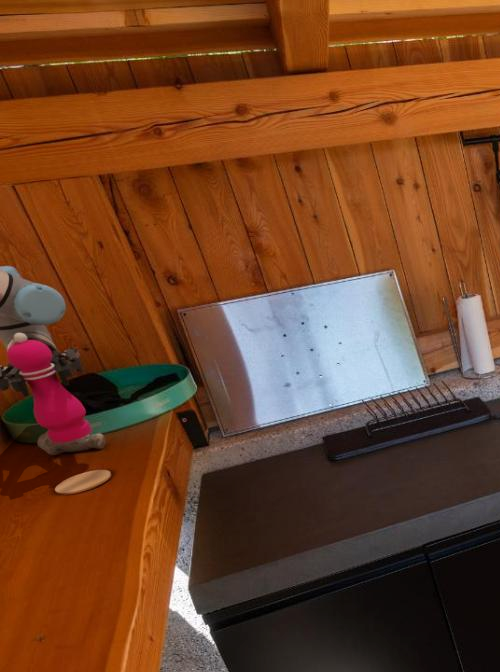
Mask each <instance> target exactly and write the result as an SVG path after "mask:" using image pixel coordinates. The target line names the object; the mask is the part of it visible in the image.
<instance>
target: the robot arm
mask: <svg viewBox="0 0 500 672" xmlns="http://www.w3.org/2000/svg"><path fill="white" fill-rule="evenodd" d="M66 308H67V306H66V301H65V299H64V297H63V295H62V294H61V293H60V292H58V290H56V289H55V288H53V287H51V286H49V285H46V284H43V283H39V282H34V281H31V280H28V279H26V278H23V277H22V276H21V274H20V273H19V271H18V270H17V269H16V268H15V267H14V266H11V265H4V266H0V341H1V342H2V344H3V346H4V348H5V350H6V352H7V351H8V349H9V347H11V346H12V345H13V344H15V343H17V342H16V341H15V340H14V335H15V334H16V333H23V334H25V335H26V336H27V340H36V341H40V342H42V343H44V344H45V345H47V346H48V348H49V349H50V350H51V353H52V359H51V362H50V363H52V364H54V367H55V369H56V370H57V372H56V373H57V375H58V377H59V379H60V380H61V382H62V385H63V387H67V386H70V385H71V383H70V382H69V379H68V378H69V377H73V376H74V371H76V373H79V372H80V373H81V372H83V371H85V368H84V366H83V364H82V362H81V361H82V360H83V359H82V356H81V355H80V353H79V351H78V348H77V347H76V346H75V347H74V346H73V347H72V346H71V347H70V348H68V349H66V350H64V351H63V352H64V353H62V352H61V351H60V350H58V349H57V347H56V345H55V344H56V343H55V341H54V338H53V336H52V335H51V333H50V332H49V330H48V328H47V326H48V325H52V324H54V323H57V322H59V321H60V320H61V319H62V318H63V317H64V315H65V314H66V313H65V312H66ZM20 371H21V370H20V369H18V368H16V367H14V366H12V365H11V364H10V362H9V361H8V362H7V363H6V366H3V365H2V364H1V365H0V391H1V392H4V391H7V390H9V388H10V387H11V390H13V391H14V392H15V393H20V392H21V394H22V395H23V397H28V396H30V392H29V387H28V385H27V384H26V382H27V380H23V379H22V376H21V375H20V374H19V372H20Z"/></svg>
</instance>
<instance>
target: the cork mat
mask: <svg viewBox="0 0 500 672" xmlns="http://www.w3.org/2000/svg"><path fill="white" fill-rule="evenodd" d="M111 477H112V472H111V471H110V470H107V469H95V470H90V471H89V470H88V471H84V472H83V473H82V472H81V473H79V474H76V475H73V476H71V477H68V478H66V479H65V480H62V481H61V482H60V483H59V484H57V485H56V486H55V488H54V491H55V493H56V494H58V495H62V496H64V495H65V496H66V495H75V494H79V493H83V492H86V491H88V490H92V489H94V488H97V487H98V486H100V485H103V484H104V483H106V482H107V481H109V480H110V478H111Z"/></svg>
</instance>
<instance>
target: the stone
mask: <svg viewBox="0 0 500 672" xmlns="http://www.w3.org/2000/svg"><path fill="white" fill-rule="evenodd" d="M47 432H48V430H47V431H46V432H44V433H43V434H41V435H39V437H38V439H37V446H38V447H39V448H40V449H41V450H43V451H45V452H46V453H47V454H48V455H50V456H59V455H62V454H65V453H75V452H77V453H78V452H84V451H88V450H90V449H97V450H102V449H104V448H105V446H106V437H105V436H104V434H102V433H95V434H90V433H89V434H88V435H86V436H84V437H82V438H80V439H77V440H74V441H70V442H65V443H54V442H52V441H51V439H50V438H49V436H48V434H47Z"/></svg>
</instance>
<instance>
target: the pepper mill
mask: <svg viewBox="0 0 500 672" xmlns="http://www.w3.org/2000/svg"><path fill="white" fill-rule="evenodd" d="M14 340H15V341H16V342H17V343H15V344H13V345H12V346H11V347H9V349H8V351H7V350H6V358H7V361H8V362H10V364H11V365H12V366H14V367H16V368H18V369H20V370H21V371H20V372H19V374H20V375H21V376H22V379H23V380H26V382H27V384H28V385H29V387H30V389H31V392H32V396H33V415H34V418H35V420H36V423H37V424H38V425H39V426H40V427H42V428H45V429H47V431H48V432H47V431H46V432H47V434H48V436H49V438H50V439H51V441H52V442H54V443H65V442H70V441H74V440H77V439H80V438H82V437H84V436H86V435H88V434H90V433H92V432H93V431H92V430H93V429H92V426H91V424H90V423H89V421H88V420H87V419H85V416H86V413H87V411H86V408H85V407H84V404H82V402H81V401H80V400H79V399H78V398H77V397H75V395H74V394H72V393H71V392H70V391H68V390H67V389H66V387H65V386H64V385H63V384H62V383H61V382H60V380H59V378H58V376H57V374H56V373H57V370H56V369H55V367H54V364H52V363H50V362H51V359H52V353H51V350H50V349H49V348H48V346H47V345H45V344H44V343H42V342H40V341H36V340H27V336H26V335H25V334H23V333H16V334H15V335H14Z"/></svg>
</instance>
